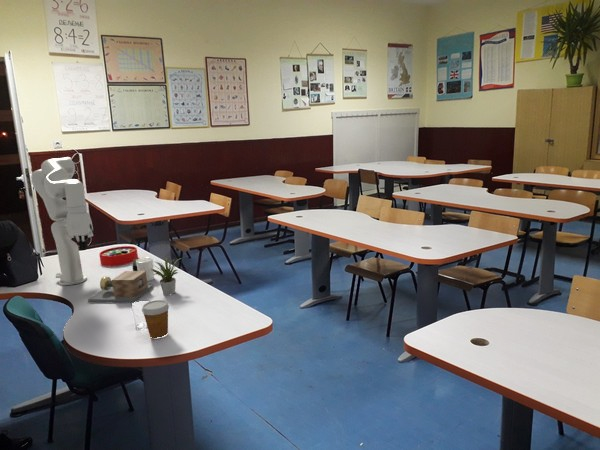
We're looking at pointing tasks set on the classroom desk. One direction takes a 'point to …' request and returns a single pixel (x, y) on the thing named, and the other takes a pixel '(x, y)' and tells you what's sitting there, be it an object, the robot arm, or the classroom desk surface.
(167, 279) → the house plant
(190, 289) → the classroom desk surface
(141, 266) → the white cup
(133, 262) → the mobile phone
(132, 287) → the block
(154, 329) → the disposable coffee cup
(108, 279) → the shaft
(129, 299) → the base mat
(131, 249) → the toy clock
